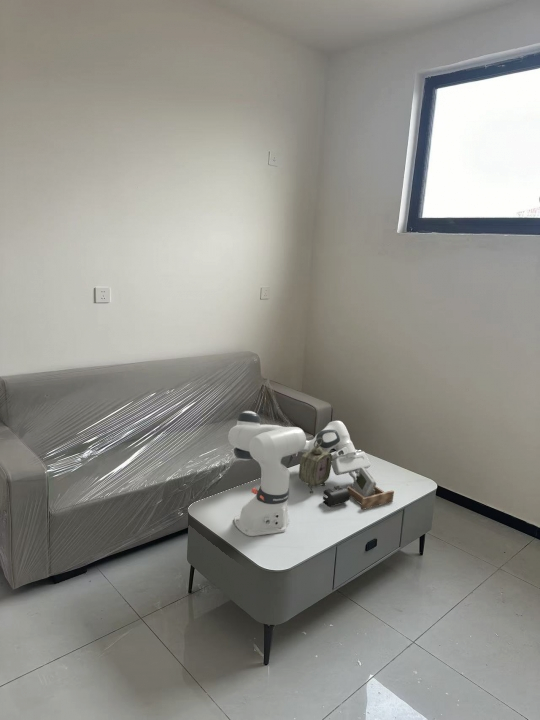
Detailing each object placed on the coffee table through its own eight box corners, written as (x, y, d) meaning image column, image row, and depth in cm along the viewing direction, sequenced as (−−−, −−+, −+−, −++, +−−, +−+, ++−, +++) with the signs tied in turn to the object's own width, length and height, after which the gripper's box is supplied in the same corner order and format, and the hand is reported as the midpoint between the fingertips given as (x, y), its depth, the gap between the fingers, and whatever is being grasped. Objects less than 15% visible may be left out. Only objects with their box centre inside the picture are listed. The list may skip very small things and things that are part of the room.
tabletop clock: (312, 496, 226) (318, 445, 220) (295, 489, 231) (300, 439, 225) (328, 485, 237) (334, 436, 231) (312, 479, 242) (317, 431, 236)
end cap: (332, 510, 216) (333, 496, 214) (321, 502, 221) (323, 488, 220) (349, 505, 221) (351, 491, 220) (338, 497, 227) (340, 484, 225)
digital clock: (351, 485, 239) (354, 465, 236) (370, 487, 239) (373, 467, 236) (355, 503, 223) (358, 481, 221) (376, 505, 223) (379, 483, 220)
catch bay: (362, 509, 218) (363, 499, 217) (342, 494, 230) (343, 484, 228) (392, 501, 227) (394, 491, 226) (372, 487, 239) (373, 477, 238)
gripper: (359, 451, 248) (370, 478, 242) (326, 458, 237) (337, 486, 231) (366, 446, 243) (378, 473, 237) (333, 453, 232) (344, 482, 227)
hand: (357, 480), depth 234 cm, fingers closed, pressing on digital clock
